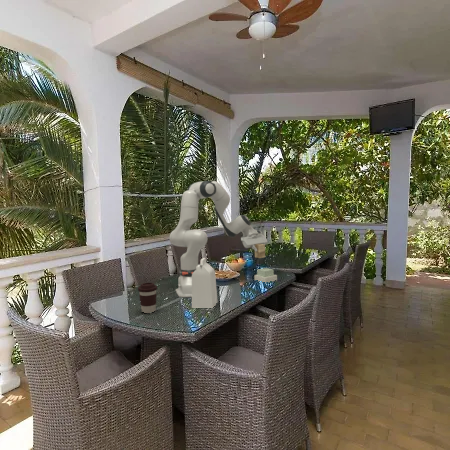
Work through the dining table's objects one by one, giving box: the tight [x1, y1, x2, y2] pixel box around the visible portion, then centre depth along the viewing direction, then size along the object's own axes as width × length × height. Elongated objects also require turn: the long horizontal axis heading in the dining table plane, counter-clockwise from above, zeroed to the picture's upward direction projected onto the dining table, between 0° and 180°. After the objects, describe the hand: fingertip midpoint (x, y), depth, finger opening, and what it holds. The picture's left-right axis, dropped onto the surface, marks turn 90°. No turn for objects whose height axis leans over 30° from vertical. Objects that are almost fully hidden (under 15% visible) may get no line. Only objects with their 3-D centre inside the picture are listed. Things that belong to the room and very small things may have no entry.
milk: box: [191, 257, 218, 309], centre depth 194 cm, size 12×12×26 cm
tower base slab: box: [253, 274, 278, 284], centre depth 245 cm, size 11×11×4 cm
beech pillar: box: [254, 244, 266, 259], centre depth 247 cm, size 5×5×9 cm
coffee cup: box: [137, 282, 158, 314], centre depth 187 cm, size 10×10×15 cm
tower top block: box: [256, 267, 275, 277], centre depth 245 cm, size 8×8×4 cm
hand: (260, 250), depth 246 cm, fingers closed on beech pillar, 5 cm apart
